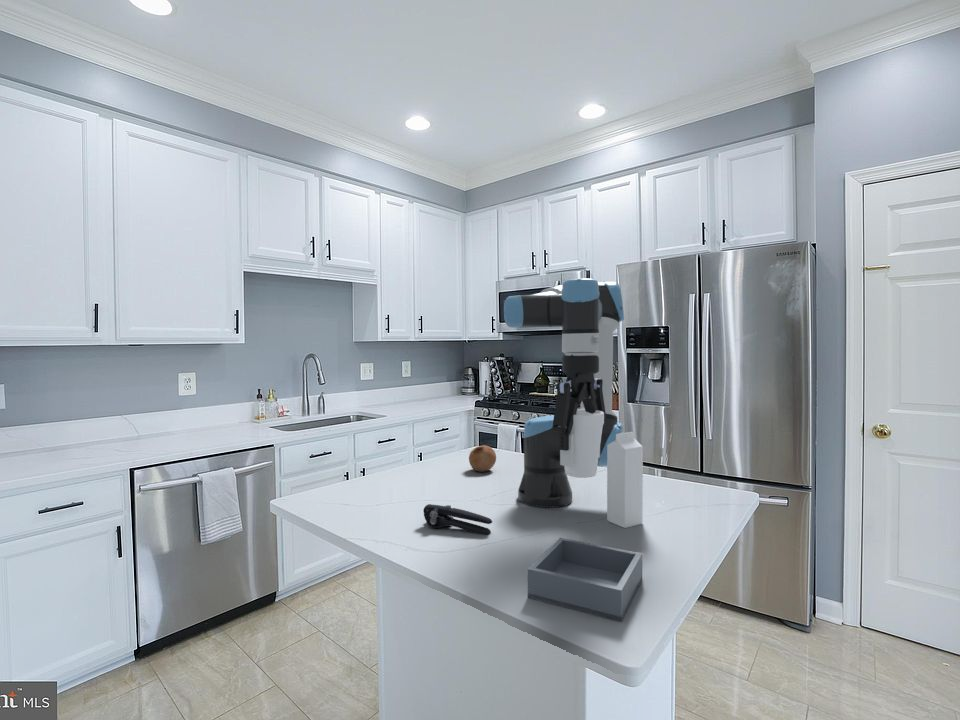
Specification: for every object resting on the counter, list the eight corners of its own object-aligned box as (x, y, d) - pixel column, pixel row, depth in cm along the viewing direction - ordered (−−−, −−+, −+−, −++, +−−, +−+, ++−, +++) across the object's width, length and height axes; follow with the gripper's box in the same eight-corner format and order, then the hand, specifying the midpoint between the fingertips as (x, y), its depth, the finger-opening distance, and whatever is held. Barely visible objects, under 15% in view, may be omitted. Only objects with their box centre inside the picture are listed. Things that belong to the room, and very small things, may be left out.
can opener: (417, 529, 121) (417, 505, 121) (432, 519, 127) (431, 497, 127) (485, 540, 114) (485, 515, 113) (497, 530, 120) (497, 506, 120)
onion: (480, 482, 171) (473, 459, 167) (467, 469, 179) (461, 446, 175) (503, 469, 175) (498, 446, 170) (490, 457, 183) (484, 434, 178)
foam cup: (557, 478, 103) (557, 415, 102) (558, 467, 112) (558, 408, 111) (605, 480, 101) (605, 415, 100) (602, 468, 110) (602, 409, 109)
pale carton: (642, 524, 123) (643, 433, 122) (624, 528, 120) (625, 435, 119) (624, 516, 128) (625, 429, 127) (606, 520, 125) (607, 431, 124)
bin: (527, 597, 87) (527, 569, 87) (560, 562, 101) (559, 537, 101) (621, 621, 80) (621, 590, 80) (642, 580, 94) (642, 553, 93)
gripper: (564, 356, 95) (565, 474, 96) (623, 352, 111) (623, 454, 112) (533, 355, 100) (533, 468, 101) (593, 352, 116) (593, 449, 117)
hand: (580, 461), depth 106 cm, fingers closed on foam cup, 9 cm apart
